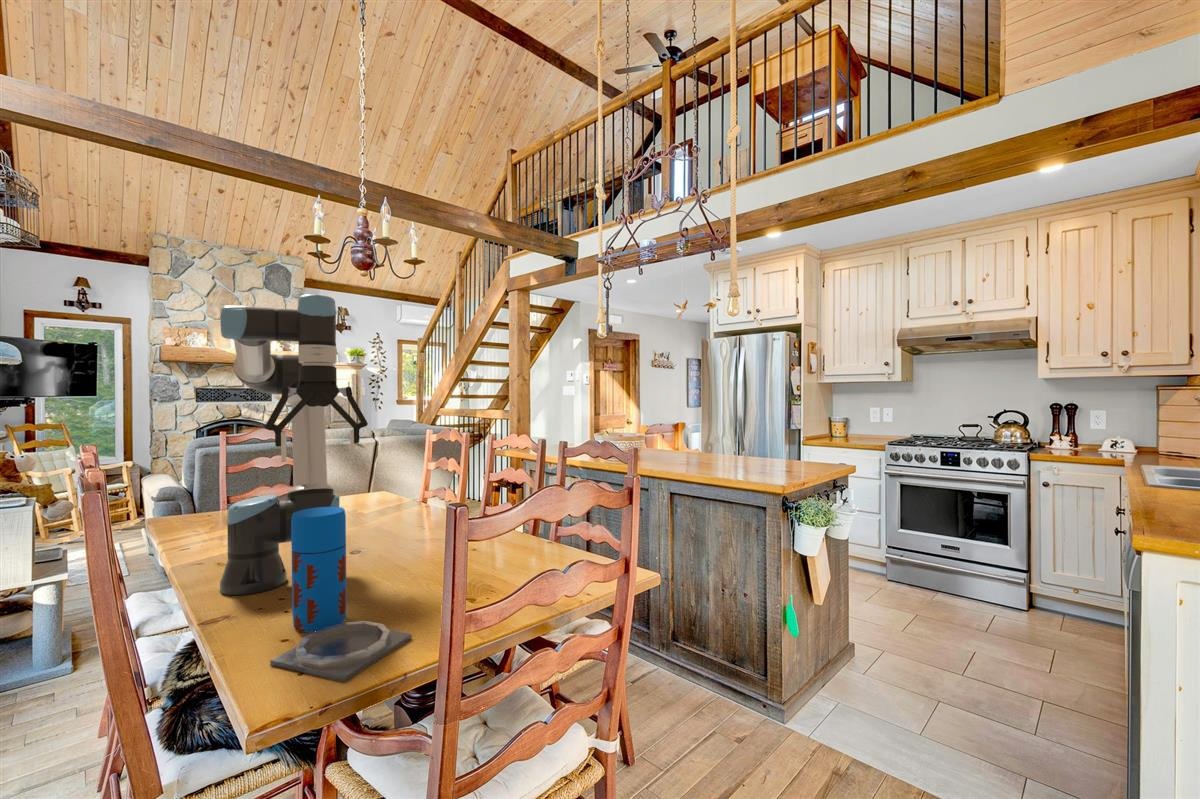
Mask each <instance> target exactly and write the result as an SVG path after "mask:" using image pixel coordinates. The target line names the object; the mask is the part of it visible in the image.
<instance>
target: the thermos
mask: <svg viewBox="0 0 1200 799" xmlns="http://www.w3.org/2000/svg"><path fill="white" fill-rule="evenodd" d="M346 518H347V517H346V510H345V508H343V507H340V506H339V507H318V508H310V509H304V510H300V511H297V512H294V513H293V514H292V520H291V542H290V543H291V607H292V608H291V610H292V623H293V624H292V625H293V628H295V629H294V630H295V631H297V632H300V633H314V632H315V631H318V630H320V629H322V628H326V627H330V626H333V625H337V624H341V623H343V621H344V620H345V621H346V617H347V599H348V598H347V541H346V540H347V534H346V533H347V530H346V528H347V526H346V524H347V523H346V522H347V521H346ZM345 621H344V622H345Z"/></svg>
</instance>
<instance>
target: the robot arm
mask: <svg viewBox="0 0 1200 799" xmlns="http://www.w3.org/2000/svg"><path fill="white" fill-rule="evenodd" d="M336 317H337V310H336V301H335V299H334V298H333V297H332V296H328V295H323V294H322V295H320V294H303V295H300V296H299V297H298V298H297V309H291V308H289V309H288V308H275V307H274V308H273V307H261V306H246V305H224V306H222V307H221V309H220V322H219V323H220V334H221V336H222V338H224V339H225V340H226V339H227V340H233V343H234V349H235V350H234V351H235V355H236V357H235V358H234V362H233V370H234V374H235V376H236V377H237V379H238V380H239V381H240V382H241V383H242V384H244V385H246V386H247V387H248V388H250V389H253V390H255V391H257V392H261V393H264V394H269V395H281V397H280V398H279V400H278V402H277V404H276V405H275V407H274V410H272V412H271V415H270V416H269V418H268V420H267V421H266V424H265V425H264V427H265V429H266V430H269V431H270V430H271V431H272V432H274V441H275V442H274V444H275V446H276V447H280V448H281V449H280V452H281V453H280V454H281V456H280V458H281V463H286V462H287V431H283V429H285V427H286V426H287V425H288V424H290V422H291V437H292V440H291V441H292V445H291V447H292V477H293V479H292V480H293V481H292V482H293V483H292V488H290V489H289V490H288V491H287V493H286V496H287V497H286V499H280V497H279V495H277V494H269V495H268V494H266V495H265V494H264V495H260V496H255V497H250V498H246V499H242V500H239V501H236V502H234V503H232V504H231V505H230V506H229V507H228V508H227V516H226V517H227V518H226V522H225V523H226V525H227V526H226V527H227V562H226V564H225V567H224V570H223V573H222V577H221V578H220V581H219V592H220V593H221V594H224V595H230V596H243V595H251V594H257V593H262V592H265V591H269V590H270V591H271V590H273V589H275V588H278V587H280V586H282V585H284V584H285V583H286V582H287V580H288V579H287V577H288V574H287V570H286V567H285V564H284V562H283V560H282V557H281V555H280V544H284V543H291V520H292V514H293V513H294V512H297V511H300V510H304V509H310V508H318V507H340V503H341V502H340V497H341V496H340V495H339V494H336V493H335V494H334V487H332V486H331V485H330V484H329V483H328V467H327V465H328V464H327V447H326V446H327V444H326V443H327V441H326V437H327V436H326V418H325V416H326V414H325V407H329V406H332V408H334V410H335V411H336V412H337V413H338V414H339V415H340V416H342V418H343V419H344V420H345V421H346V422H347V423H348V425H350V426H351V427H352V429H349V439H350V440H349V451H350V452H349V453H350V454H349V458H350V459H351V460H352V459H353V460H354V459H355V444H359V443H360V430H361V428H364V427H367V426H368V424H369V423H368V421H367V420H366V418H365V415H364V414H363V412H362V410H361V409H360V407H359V405H358V403H357V401H356V400H355V398H354V396H353V391H352V390H353V389H352V387H351V386H346V387H340V388H339V386H338V384H337V379H338V378H337V368H336V366H334V365H336V363H337V341H336V338H337V333H336V332H337V331H336V330H337V318H336ZM272 341H273V342H295V343H298V346H297V347H298V354H272V353H271V352H272V351H271V347H272V346H271V342H272ZM340 393H341V394H342V396H343V397H345V398H346V399H347V401H348V403H349V404H350V406H351V407H352V409H353V411H354V413H355V415H356V416H357V418H358V420H359V422H356V421H355V419H353V417H352V416H350V414H349V413H348V412H347V411H346V410H345V409H344V408H343V407H342V406H341V405H340V404H339V403H338V402H337V401H336V400H335V398H337V396H338V395H339V394H340ZM287 403H288V404H289V405H290V406H291V410H290V412H289V413H288V414H287V415H285V416H284V418H283V419H282V420H281V421H280V422H279V423H278V424H276V422H277V420H278V419H279V417H280V414H281V413H282V411H283V409H284V408H285V406H286V404H287Z"/></svg>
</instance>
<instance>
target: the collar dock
mask: <svg viewBox="0 0 1200 799" xmlns="http://www.w3.org/2000/svg"><path fill="white" fill-rule="evenodd" d="M412 637H413V636H412V633H408V632H403V631H398V630H391V629H389V628H388V627H386V625H385V624H383V623H380V622H379V623H378V622H374V621H368V620H363V621H361V620H360V621H349V622H348V621H344V622H342V623H341V624H337V625H333V626H330V627H326V628H322V629H320V630H318V631H316V632H311V634H308V635H306V636H304V637H303V638H302V639H301V641H300V642H299V643H298V644H297V646H295V647H293V648H291V649H289V650H287V651H286V652H283V653H282V654H280V655H277V656H276V657H273V658H272V659H270V661H269V662H270V664H269V665H270V666H271V667H275V668H279V669H285V670H289V671H293V672H298V673H302V674H306V675H311V676H315V677H318V678H319V677H320V678H323V679H328V680H333V681H337V682H342V683H346V682H347V681H349V680H351V679H352V678H353V677H355V676H357V675H358V674H360V673H361V672H363V671H364V670H366V669H367V668H369V667H371V666H372V665H373V664H375V663H377V662H379V661H380V660H381V659H383V658H384V657H386V656H387V655H389V654H390V653H392V652H393V651H395V650H397V649H398V648H399V646H400V645H401V646H403V645H404V644H406V643H407V642H409V641H410V640H412V639H411V638H412ZM409 639H410V640H409ZM408 640H409V641H408ZM406 641H407V642H406ZM405 642H406V643H405ZM403 643H404V644H403ZM402 644H403V645H402ZM401 646H400V647H401ZM397 647H398V648H397ZM396 648H397V649H396ZM388 653H389V654H388Z"/></svg>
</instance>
